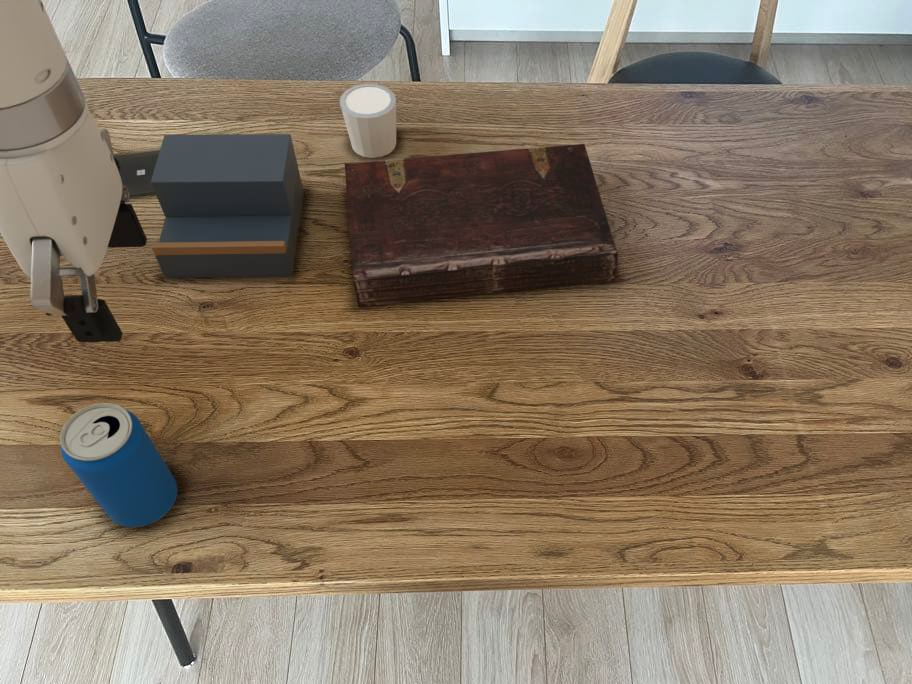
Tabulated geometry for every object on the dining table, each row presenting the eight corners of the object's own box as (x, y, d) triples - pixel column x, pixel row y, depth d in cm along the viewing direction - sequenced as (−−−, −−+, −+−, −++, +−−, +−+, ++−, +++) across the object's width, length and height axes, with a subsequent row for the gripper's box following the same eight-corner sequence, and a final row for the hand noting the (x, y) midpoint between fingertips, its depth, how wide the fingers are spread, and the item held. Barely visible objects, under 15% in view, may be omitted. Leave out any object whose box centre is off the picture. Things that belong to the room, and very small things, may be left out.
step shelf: (166, 280, 97) (139, 221, 90) (187, 195, 105) (164, 134, 98) (293, 278, 98) (276, 219, 91) (304, 194, 106) (290, 133, 99)
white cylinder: (339, 137, 113) (331, 90, 107) (389, 123, 115) (383, 77, 109) (358, 169, 109) (350, 123, 103) (409, 155, 111) (404, 108, 105)
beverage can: (194, 498, 82) (152, 429, 72) (133, 544, 79) (82, 478, 69) (153, 458, 84) (108, 385, 74) (93, 501, 81) (38, 431, 71)
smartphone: (197, 190, 106) (195, 185, 105) (66, 208, 103) (63, 203, 102) (195, 150, 110) (193, 145, 109) (68, 167, 107) (66, 161, 106)
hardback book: (359, 310, 96) (353, 279, 92) (350, 195, 106) (344, 163, 102) (613, 284, 100) (618, 253, 96) (581, 176, 110) (584, 143, 106)
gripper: (-10, 17, 57) (89, 212, 71) (-101, 197, 48) (35, 381, 62) (107, 18, 58) (182, 211, 72) (42, 195, 48) (144, 378, 62)
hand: (114, 289), depth 67 cm, fingers open, 9 cm apart
